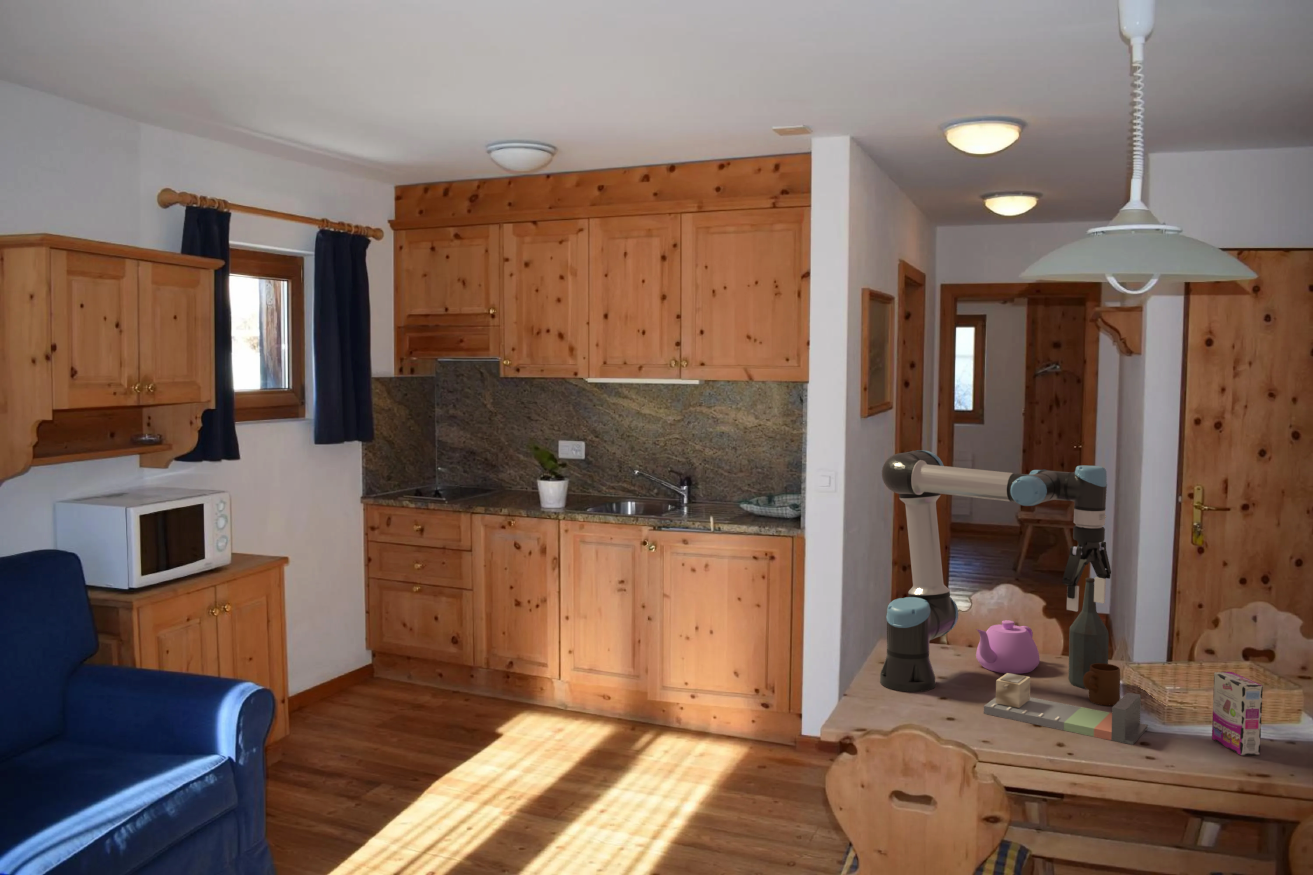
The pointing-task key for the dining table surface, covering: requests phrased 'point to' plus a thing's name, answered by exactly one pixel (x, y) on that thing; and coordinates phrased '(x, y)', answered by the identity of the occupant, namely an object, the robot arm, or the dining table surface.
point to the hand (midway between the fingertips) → (1086, 606)
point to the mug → (1103, 684)
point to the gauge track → (1056, 716)
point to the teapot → (1008, 649)
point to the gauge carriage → (1012, 690)
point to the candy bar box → (1237, 713)
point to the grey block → (1127, 719)
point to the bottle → (1087, 639)
